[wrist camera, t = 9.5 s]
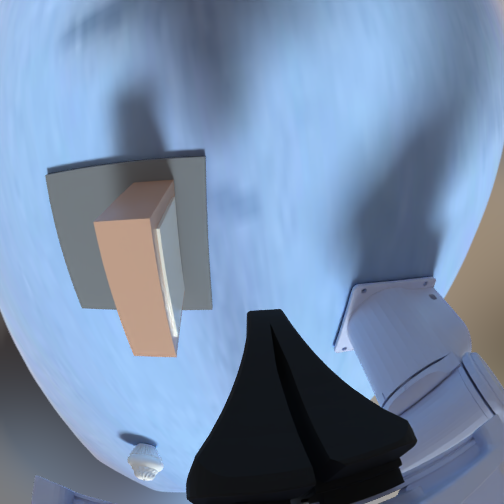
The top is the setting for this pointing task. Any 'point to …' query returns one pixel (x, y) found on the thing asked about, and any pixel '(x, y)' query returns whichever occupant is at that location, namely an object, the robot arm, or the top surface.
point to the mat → (103, 195)
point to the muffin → (145, 461)
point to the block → (144, 265)
